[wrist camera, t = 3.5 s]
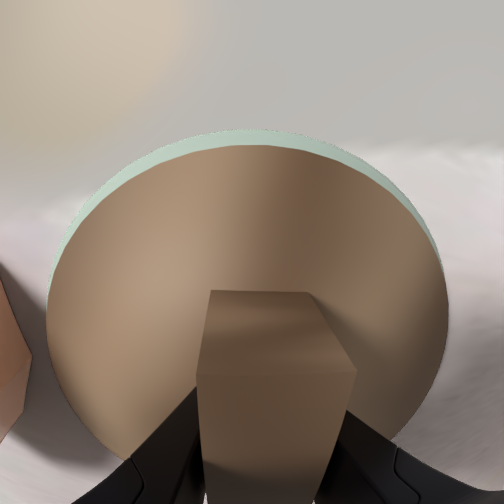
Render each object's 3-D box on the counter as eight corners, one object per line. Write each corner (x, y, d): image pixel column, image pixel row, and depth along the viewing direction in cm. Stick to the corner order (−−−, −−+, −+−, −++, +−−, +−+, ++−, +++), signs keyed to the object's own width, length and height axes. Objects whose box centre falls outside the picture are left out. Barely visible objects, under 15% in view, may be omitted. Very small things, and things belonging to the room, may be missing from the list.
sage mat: (489, 286, 10) (497, 290, 9) (292, 500, 12) (293, 507, 11) (177, 48, 7) (174, 41, 7) (26, 386, 9) (21, 392, 9)
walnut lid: (462, 177, 8) (565, 188, 4) (381, 465, 11) (411, 530, 7) (41, 155, 7) (-66, 153, 3) (103, 466, 10) (79, 537, 6)
